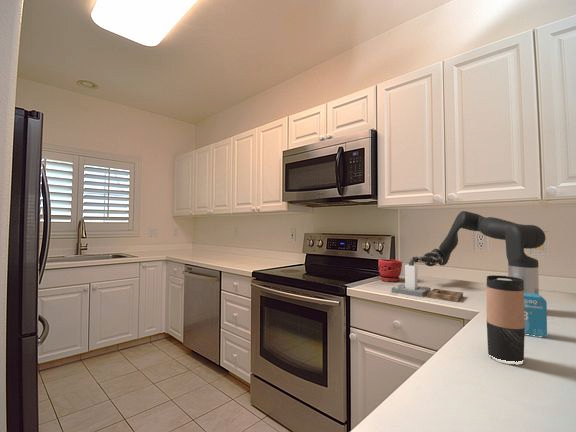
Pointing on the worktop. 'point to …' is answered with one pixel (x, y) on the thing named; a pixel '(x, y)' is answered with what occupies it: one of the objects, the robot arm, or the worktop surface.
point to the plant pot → (389, 269)
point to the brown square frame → (445, 295)
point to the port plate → (411, 290)
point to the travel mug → (505, 317)
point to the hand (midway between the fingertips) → (423, 261)
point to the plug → (411, 275)
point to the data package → (535, 315)
